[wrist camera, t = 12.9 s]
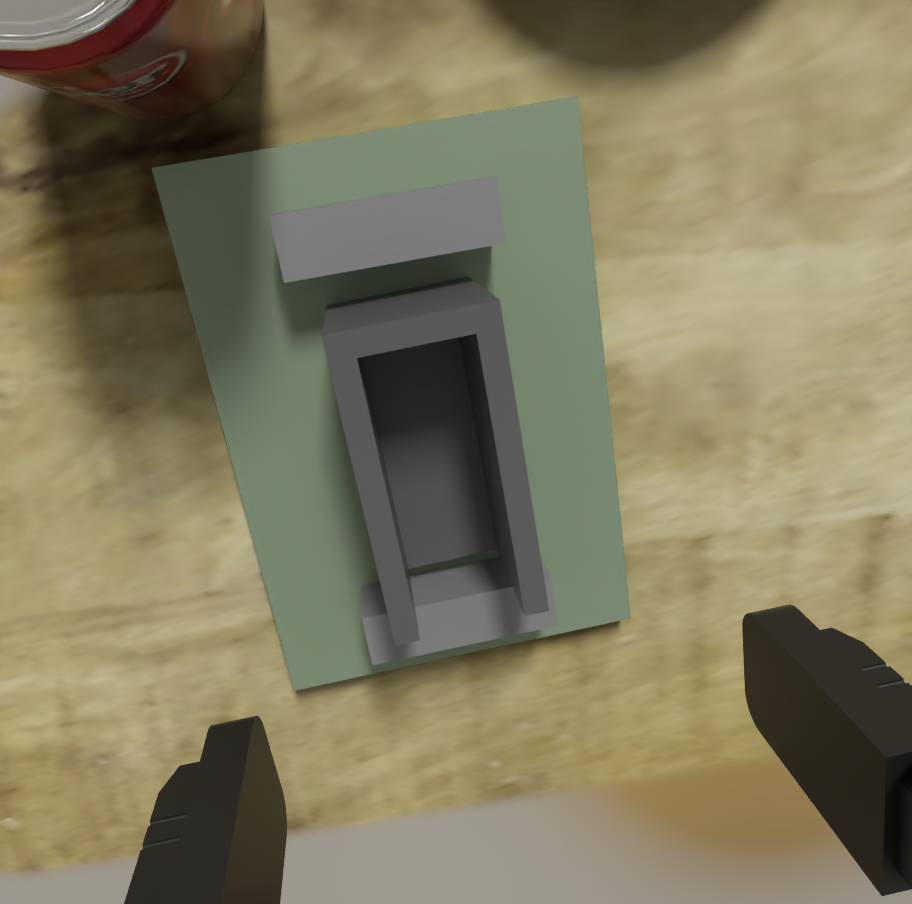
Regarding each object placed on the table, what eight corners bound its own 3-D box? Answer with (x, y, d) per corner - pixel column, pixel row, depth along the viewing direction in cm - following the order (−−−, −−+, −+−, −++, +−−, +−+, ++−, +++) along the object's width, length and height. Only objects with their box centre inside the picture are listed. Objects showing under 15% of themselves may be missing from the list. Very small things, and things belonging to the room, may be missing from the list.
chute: (326, 305, 27) (321, 335, 22) (468, 276, 28) (499, 299, 22) (386, 561, 31) (395, 646, 25) (512, 533, 31) (549, 610, 25)
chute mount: (159, 168, 26) (131, 165, 23) (568, 100, 27) (600, 87, 24) (295, 673, 33) (289, 730, 30) (621, 603, 34) (652, 651, 31)
